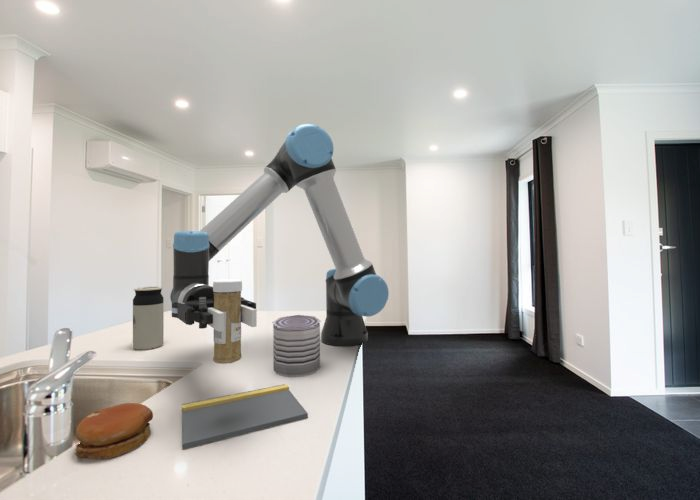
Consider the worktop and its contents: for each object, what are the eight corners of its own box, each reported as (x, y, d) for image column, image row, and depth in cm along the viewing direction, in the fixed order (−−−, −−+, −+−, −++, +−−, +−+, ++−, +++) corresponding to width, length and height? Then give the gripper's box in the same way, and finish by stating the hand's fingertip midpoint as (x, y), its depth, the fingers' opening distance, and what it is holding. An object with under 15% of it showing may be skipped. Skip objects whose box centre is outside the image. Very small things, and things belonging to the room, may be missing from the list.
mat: (284, 388, 68) (284, 381, 68) (307, 417, 55) (307, 409, 55) (182, 408, 59) (182, 400, 59) (182, 449, 47) (182, 439, 47)
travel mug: (165, 342, 104) (165, 286, 105) (160, 348, 97) (160, 288, 97) (136, 344, 101) (136, 287, 102) (129, 351, 94) (129, 289, 94)
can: (325, 362, 84) (325, 315, 84) (311, 379, 73) (311, 325, 73) (284, 359, 86) (284, 314, 86) (264, 375, 75) (264, 323, 75)
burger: (142, 454, 46) (141, 421, 46) (60, 469, 43) (60, 434, 43) (158, 421, 55) (158, 393, 55) (92, 431, 52) (92, 402, 52)
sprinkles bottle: (245, 361, 54) (245, 279, 54) (216, 366, 51) (216, 281, 51) (237, 354, 57) (237, 278, 58) (209, 359, 55) (210, 279, 55)
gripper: (242, 315, 74) (289, 336, 55) (153, 325, 63) (175, 355, 45) (242, 282, 74) (289, 291, 55) (153, 287, 63) (175, 300, 45)
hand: (238, 320), depth 50 cm, fingers closed on sprinkles bottle, 4 cm apart
